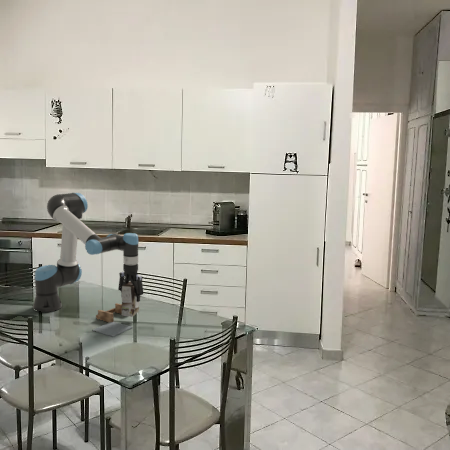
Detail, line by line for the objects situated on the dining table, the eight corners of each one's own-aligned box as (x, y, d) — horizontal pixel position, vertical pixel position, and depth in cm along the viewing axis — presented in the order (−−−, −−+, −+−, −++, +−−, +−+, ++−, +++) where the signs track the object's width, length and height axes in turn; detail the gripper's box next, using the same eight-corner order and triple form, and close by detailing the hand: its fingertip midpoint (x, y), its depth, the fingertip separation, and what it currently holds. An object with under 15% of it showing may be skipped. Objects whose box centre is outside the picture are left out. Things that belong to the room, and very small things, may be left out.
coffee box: (133, 317, 261) (133, 286, 258) (121, 315, 262) (121, 285, 259) (139, 311, 270) (140, 282, 267) (128, 309, 271) (128, 280, 268)
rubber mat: (92, 330, 254) (92, 329, 254) (112, 322, 265) (112, 321, 265) (113, 336, 247) (113, 335, 246) (132, 327, 258) (132, 326, 258)
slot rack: (96, 318, 270) (95, 309, 269) (114, 311, 282) (114, 302, 281) (112, 323, 264) (112, 314, 263) (130, 315, 276) (130, 306, 275)
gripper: (110, 261, 263) (111, 303, 267) (141, 268, 253) (141, 311, 257) (120, 258, 269) (120, 299, 274) (151, 265, 259) (150, 307, 263)
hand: (130, 305), depth 265 cm, fingers closed on coffee box, 8 cm apart
